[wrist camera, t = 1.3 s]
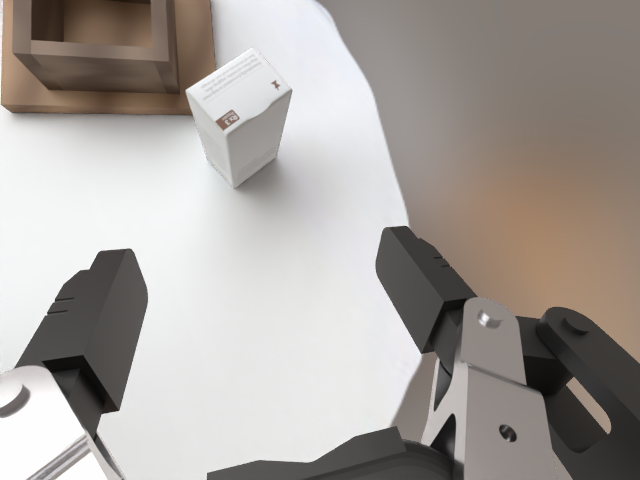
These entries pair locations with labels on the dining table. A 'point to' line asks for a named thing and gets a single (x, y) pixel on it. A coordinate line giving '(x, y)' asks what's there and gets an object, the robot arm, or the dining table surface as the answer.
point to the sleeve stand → (104, 55)
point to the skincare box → (240, 115)
